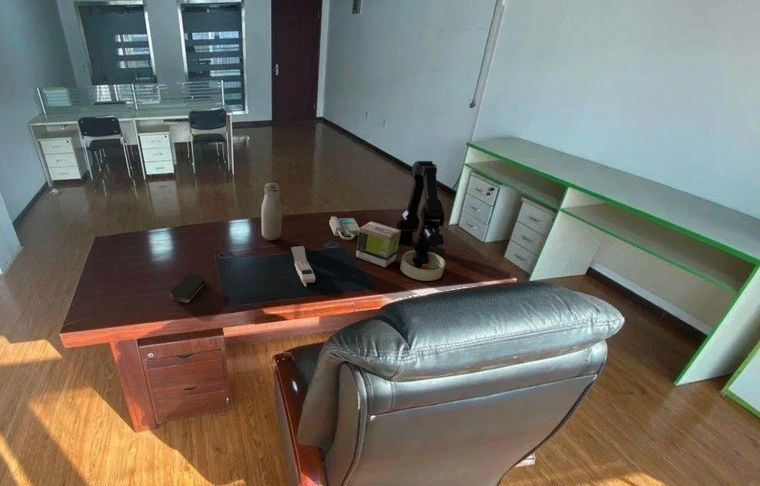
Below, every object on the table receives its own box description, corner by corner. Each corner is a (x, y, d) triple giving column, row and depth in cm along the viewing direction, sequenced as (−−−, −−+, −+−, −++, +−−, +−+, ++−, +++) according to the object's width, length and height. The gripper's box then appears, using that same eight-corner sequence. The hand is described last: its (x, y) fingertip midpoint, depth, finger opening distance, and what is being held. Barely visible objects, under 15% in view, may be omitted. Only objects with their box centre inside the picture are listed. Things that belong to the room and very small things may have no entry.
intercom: (339, 236, 188) (329, 215, 208) (338, 244, 191) (328, 223, 211) (366, 236, 188) (354, 214, 209) (365, 244, 191) (353, 222, 211)
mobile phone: (303, 245, 178) (318, 273, 158) (303, 257, 181) (317, 286, 161) (290, 246, 177) (303, 275, 157) (290, 258, 181) (303, 287, 160)
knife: (407, 268, 171) (409, 262, 169) (408, 266, 172) (409, 259, 171) (434, 273, 167) (436, 267, 165) (434, 270, 169) (436, 264, 167)
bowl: (397, 277, 166) (400, 265, 163) (402, 258, 179) (404, 247, 176) (441, 285, 161) (444, 273, 158) (442, 265, 174) (446, 254, 171)
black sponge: (189, 279, 166) (188, 272, 164) (207, 283, 164) (206, 275, 162) (169, 301, 154) (167, 293, 152) (188, 305, 152) (187, 297, 149)
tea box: (395, 259, 178) (402, 229, 170) (384, 268, 172) (390, 237, 164) (366, 249, 187) (371, 220, 178) (354, 257, 181) (359, 227, 172)
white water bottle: (264, 244, 191) (264, 188, 175) (259, 235, 199) (258, 180, 183) (284, 242, 193) (285, 186, 177) (278, 233, 201) (279, 178, 185)
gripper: (446, 248, 151) (436, 282, 160) (448, 228, 165) (438, 261, 174) (416, 243, 155) (408, 277, 164) (420, 224, 169) (412, 256, 178)
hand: (417, 267), depth 170 cm, fingers open, 6 cm apart
